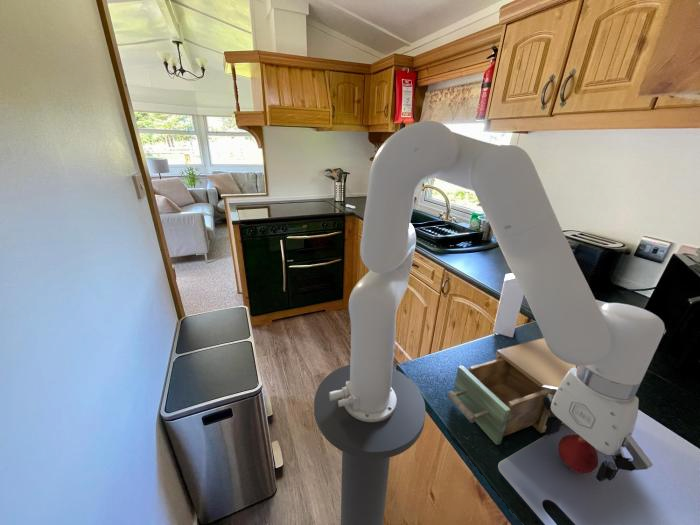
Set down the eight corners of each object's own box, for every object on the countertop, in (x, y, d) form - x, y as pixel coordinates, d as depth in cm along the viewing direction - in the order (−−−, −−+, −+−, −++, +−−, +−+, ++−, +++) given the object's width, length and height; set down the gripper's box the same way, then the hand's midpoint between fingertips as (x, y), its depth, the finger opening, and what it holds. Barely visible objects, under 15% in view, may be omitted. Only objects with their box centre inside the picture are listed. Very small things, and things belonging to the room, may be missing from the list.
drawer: (477, 453, 55) (486, 418, 52) (435, 402, 67) (440, 370, 64) (551, 422, 62) (562, 390, 59) (501, 380, 74) (509, 351, 71)
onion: (581, 457, 56) (594, 426, 53) (598, 487, 51) (613, 455, 48) (548, 450, 57) (559, 419, 54) (561, 479, 52) (574, 447, 49)
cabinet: (541, 433, 61) (554, 393, 57) (488, 385, 73) (496, 350, 69) (592, 411, 66) (608, 373, 63) (535, 370, 79) (545, 337, 75)
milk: (492, 332, 96) (506, 271, 89) (494, 324, 101) (506, 265, 94) (513, 338, 93) (528, 275, 86) (513, 329, 98) (528, 269, 91)
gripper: (539, 350, 53) (519, 421, 59) (662, 428, 38) (617, 513, 44) (567, 342, 56) (544, 410, 62) (692, 412, 41) (646, 494, 46)
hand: (575, 453), depth 53 cm, fingers open, 8 cm apart
